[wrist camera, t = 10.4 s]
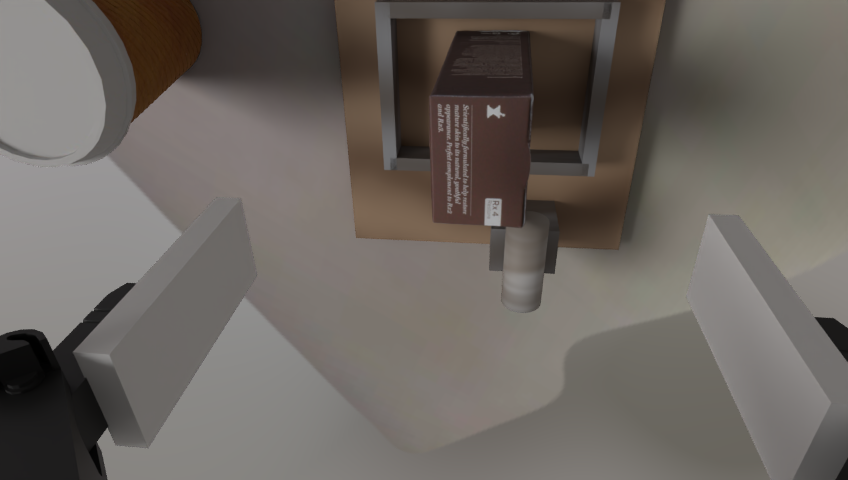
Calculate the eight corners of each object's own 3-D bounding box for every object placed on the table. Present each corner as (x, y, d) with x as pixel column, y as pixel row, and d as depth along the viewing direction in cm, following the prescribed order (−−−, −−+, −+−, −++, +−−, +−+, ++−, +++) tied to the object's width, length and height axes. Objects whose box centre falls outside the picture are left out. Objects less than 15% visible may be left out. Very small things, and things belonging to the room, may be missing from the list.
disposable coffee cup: (248, -6, 33) (138, 36, 23) (202, 126, 38) (94, 209, 28) (93, -97, 32) (-99, -94, 22) (65, 53, 37) (-102, 113, 26)
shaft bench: (326, -154, 29) (277, -168, 23) (690, -164, 27) (748, -183, 21) (360, 238, 41) (334, 301, 35) (613, 250, 39) (635, 319, 33)
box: (449, 29, 32) (426, 91, 22) (530, 29, 32) (545, 92, 21) (450, 131, 35) (429, 227, 25) (524, 132, 35) (533, 231, 24)
